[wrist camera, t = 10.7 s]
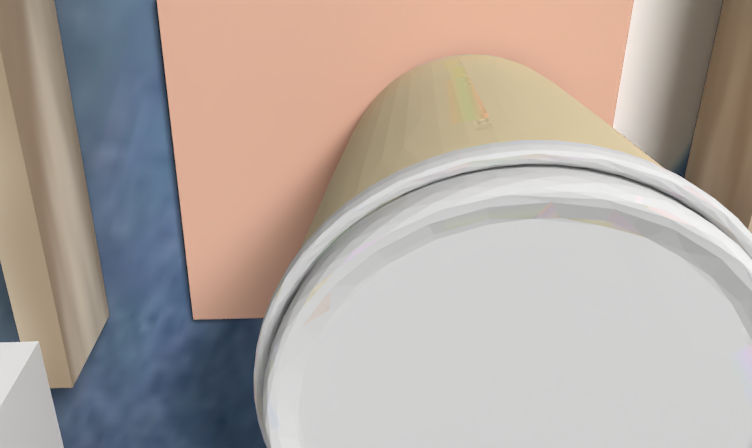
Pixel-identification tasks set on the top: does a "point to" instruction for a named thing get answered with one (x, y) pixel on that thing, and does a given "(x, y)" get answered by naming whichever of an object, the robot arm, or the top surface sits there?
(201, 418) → the top surface
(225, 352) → the top surface
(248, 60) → the front mat
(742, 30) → the bay
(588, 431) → the coffee cup
